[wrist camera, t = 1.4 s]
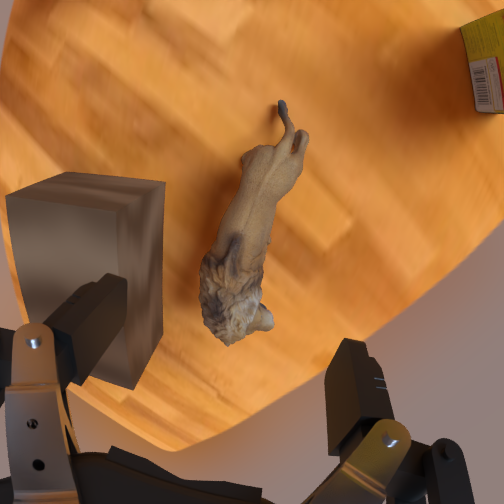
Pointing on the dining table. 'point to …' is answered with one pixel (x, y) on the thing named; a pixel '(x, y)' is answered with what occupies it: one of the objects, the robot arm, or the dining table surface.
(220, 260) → the lion figurine
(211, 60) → the dining table surface
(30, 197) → the brown wooden block
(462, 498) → the robot arm
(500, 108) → the crayon box
